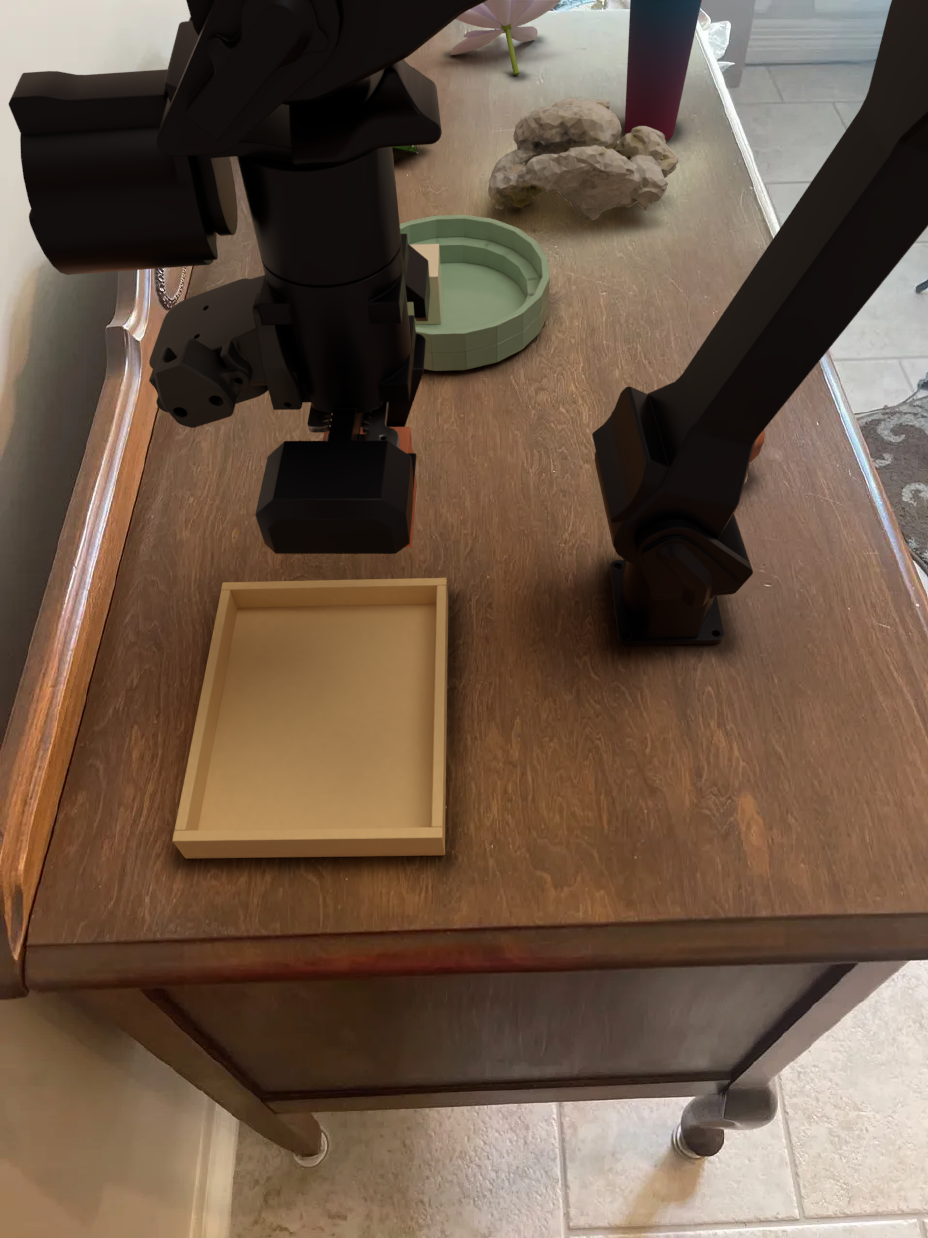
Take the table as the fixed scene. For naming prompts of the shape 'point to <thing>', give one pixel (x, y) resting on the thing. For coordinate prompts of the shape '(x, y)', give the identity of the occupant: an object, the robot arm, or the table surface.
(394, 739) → the tray
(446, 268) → the pan
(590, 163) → the mineral
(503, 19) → the water lily
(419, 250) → the cream cube
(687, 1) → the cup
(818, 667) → the table surface
